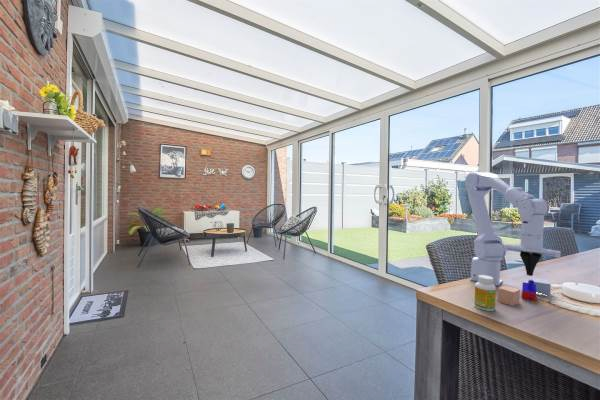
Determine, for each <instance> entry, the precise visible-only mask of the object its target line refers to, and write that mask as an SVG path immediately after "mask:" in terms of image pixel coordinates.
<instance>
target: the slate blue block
mask: <svg viewBox="0 0 600 400" xmlns="http://www.w3.org/2000/svg"><path fill="white" fill-rule="evenodd" d="M531 280H532V281H534V284H536V292H538V293H542V294H545V295H547V296H546V297H548V296H550V297H551V287H552V286H551V285H552V284H551V283H550V281H549V280H548V279H547V280H546V279H540V278H533V277H532V278H531Z"/></svg>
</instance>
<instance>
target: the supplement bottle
mask: <svg viewBox="0 0 600 400" xmlns="http://www.w3.org/2000/svg"><path fill="white" fill-rule="evenodd" d="M478 281H479V282H478ZM478 281H475V284H474V285H475V286H474V300H473V301H474V304H473V305H474V306H475V308H477V309H478V308H479V310H481V309H482V310H481V311H485V310H486V312H493V311H495V309H496V298H497V296H496V295H497V294H496V293H497V287H496V285H493V284H492V283H493V277H491V276H487V275H478Z"/></svg>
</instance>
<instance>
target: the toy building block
mask: <svg viewBox="0 0 600 400" xmlns="http://www.w3.org/2000/svg"><path fill="white" fill-rule="evenodd" d="M521 286H522V289H521V299H524V300H529V301H534V302H535V301H536V300H537V299H536V298H537V295H536V284H534V281H532V279H529V280H528V282H524V281H523V282H522V285H521Z"/></svg>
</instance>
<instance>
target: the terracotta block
mask: <svg viewBox="0 0 600 400" xmlns="http://www.w3.org/2000/svg"><path fill="white" fill-rule="evenodd" d="M520 292H521V289H519V288H515V287H510V286H507V285H502V286H499V287H497V296H496V298H497V300H496V301H497V302H499V303H502V304H505V305H508V306H511V307H514V306H516V305H518V304H520V297H521V296H520Z"/></svg>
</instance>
